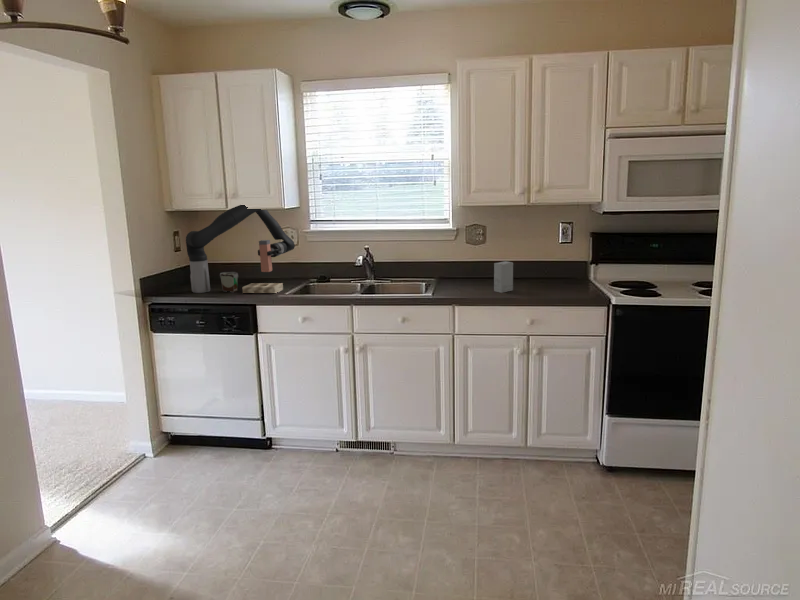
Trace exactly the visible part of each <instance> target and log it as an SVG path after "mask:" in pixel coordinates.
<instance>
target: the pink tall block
mask: <svg viewBox="0 0 800 600" xmlns="http://www.w3.org/2000/svg"><path fill="white" fill-rule="evenodd" d="M270 244H271V240H270V239H262V240H258V246H259V247H258V250H260V256H259V259H260V269H261V270H260V271H261V272H262V273H270V272H272V271H273V263H272V262H273V261H272V257H271V255H270V256H267V252H268V251H271V248H270Z"/></svg>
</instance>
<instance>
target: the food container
mask: <svg viewBox="0 0 800 600" xmlns="http://www.w3.org/2000/svg"><path fill="white" fill-rule="evenodd" d="M219 278H220V281H221V289H222V292H227V291H230V292H229V293H237V292H238V289H239V288H238V286H239V285H238V278H239V273H238V272H236V271H224V272H220V273H219ZM236 291H237V292H236Z"/></svg>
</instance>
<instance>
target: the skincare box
mask: <svg viewBox="0 0 800 600" xmlns="http://www.w3.org/2000/svg"><path fill="white" fill-rule="evenodd" d="M493 267H494V268H493V291H494V292H497V293H501V294H503V293H506V292H513V291H514V262H512V261H508V260H507V261H506V260H504V261H500V262H494V263H493Z"/></svg>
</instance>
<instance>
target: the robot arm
mask: <svg viewBox="0 0 800 600" xmlns="http://www.w3.org/2000/svg"><path fill="white" fill-rule="evenodd" d="M247 208H248V207H246V206H245V205H241V204H239V205H236V206H234V207H232V208H230V209H227V210H226V211H224V212H222V213H221V214H220V215H218V216H217V217H216V218H215V219H214V220H213V221H212V222H211V223H210V224H209V225H207V226H206V227H204V228H202V229H200V230H191V231H189V232H188V233H187V234H186V236H185V246H186V253H187V257H188V259H189V267H190V268H189V270H190V275H189V277H190V286H191V292H193V293H194V294H195V293H196V294H201V293H202V294H203V293H208V292H211V284H210V273H209V264H208V262H209V261H208V255H207V254H206V251H205V247H206V246H207V245H208V244H210V243H211V242H212V241H213V240H214V239H215V238H217V237H218V236H220V235H222V234H224V233H226V232H227V231H229V230H231V229H233V228H234V227H235V226H237V225H238V224H240V223H241V222H243V221H244V220H245V219H247V218H248V217H250V216H251V215H252V214H254V213H256V214H257V215H258V217H259V218H260V220H261V221H262V223H263V224H264V225H265V227H266V228H267V230H268V231H269V233H270V234H271V236H272V238H273V239H274V240H276V241H278V240H282V241H279V242H274V243H270V248H271V251H268V252H267V256H270V255H271V258H276V257H279V256H281V255H283V254H286V253H288V252H290V251H293V250H294V249H295V247H296V243H295V242H294V240H293V239H292V238H291V237H289V235H287V234H286V232H285V231H284V230H283V228H282V227H281V225H280V224H279V222H278V220H276V219H275V218H274V217H273V215H272V214H271V213H270V212H269V211H268V209H267V210H261V209H247ZM257 255H258V257H260V250H259V249H258V250H257Z"/></svg>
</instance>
